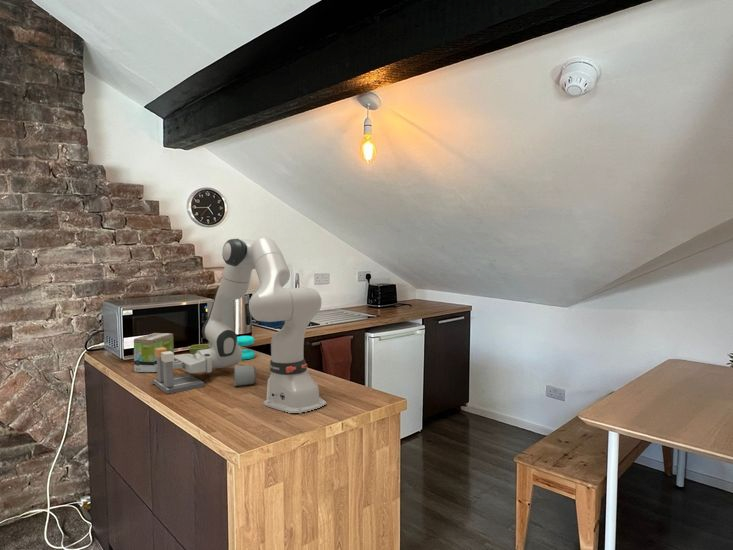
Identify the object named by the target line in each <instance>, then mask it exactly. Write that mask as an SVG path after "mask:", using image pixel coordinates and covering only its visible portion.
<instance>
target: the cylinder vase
mask: <svg viewBox="0 0 733 550" xmlns="http://www.w3.org/2000/svg"><path fill="white" fill-rule="evenodd" d="M212 304H213V301H209V302H207V304H206V305H207V307H206V308H207V318H208V317H209V314H210V311H211V308H212ZM224 321H225V324H226V325H227V326H228V327H229V328H231V329H232V330H233V331H234V332H235V322H234V321H235V319H234V300H231V301H230V302H229V304H228V307H227V310H226V314H225V317H224ZM208 345H210V347H209V349H210V348H212V343H211V342H209V341H208Z"/></svg>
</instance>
